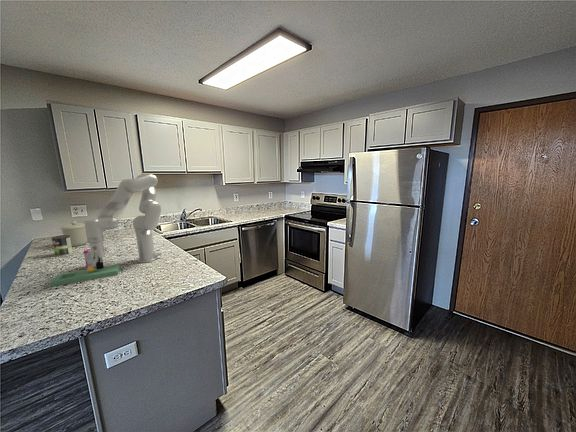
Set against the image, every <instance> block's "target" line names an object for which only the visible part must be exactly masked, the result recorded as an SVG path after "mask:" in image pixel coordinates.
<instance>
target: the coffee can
mask: <svg viewBox="0 0 576 432" xmlns="http://www.w3.org/2000/svg"><path fill="white" fill-rule="evenodd" d="M50 239H51V242H52V246H53V253H54V257H56V258H57V257H58V258H59V257H66V256H70V255H73V254H74V251H73V246H72V245H71V240H70V235H57V236H53V237H51V238H50Z"/></svg>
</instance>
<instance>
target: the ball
mask: <svg viewBox="0 0 576 432" xmlns="http://www.w3.org/2000/svg"><path fill="white" fill-rule="evenodd" d="M95 269H96V267H95V266H93V265H91V266H88V268H87V267H86V270H87V271H88V272H93V271H95Z"/></svg>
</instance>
